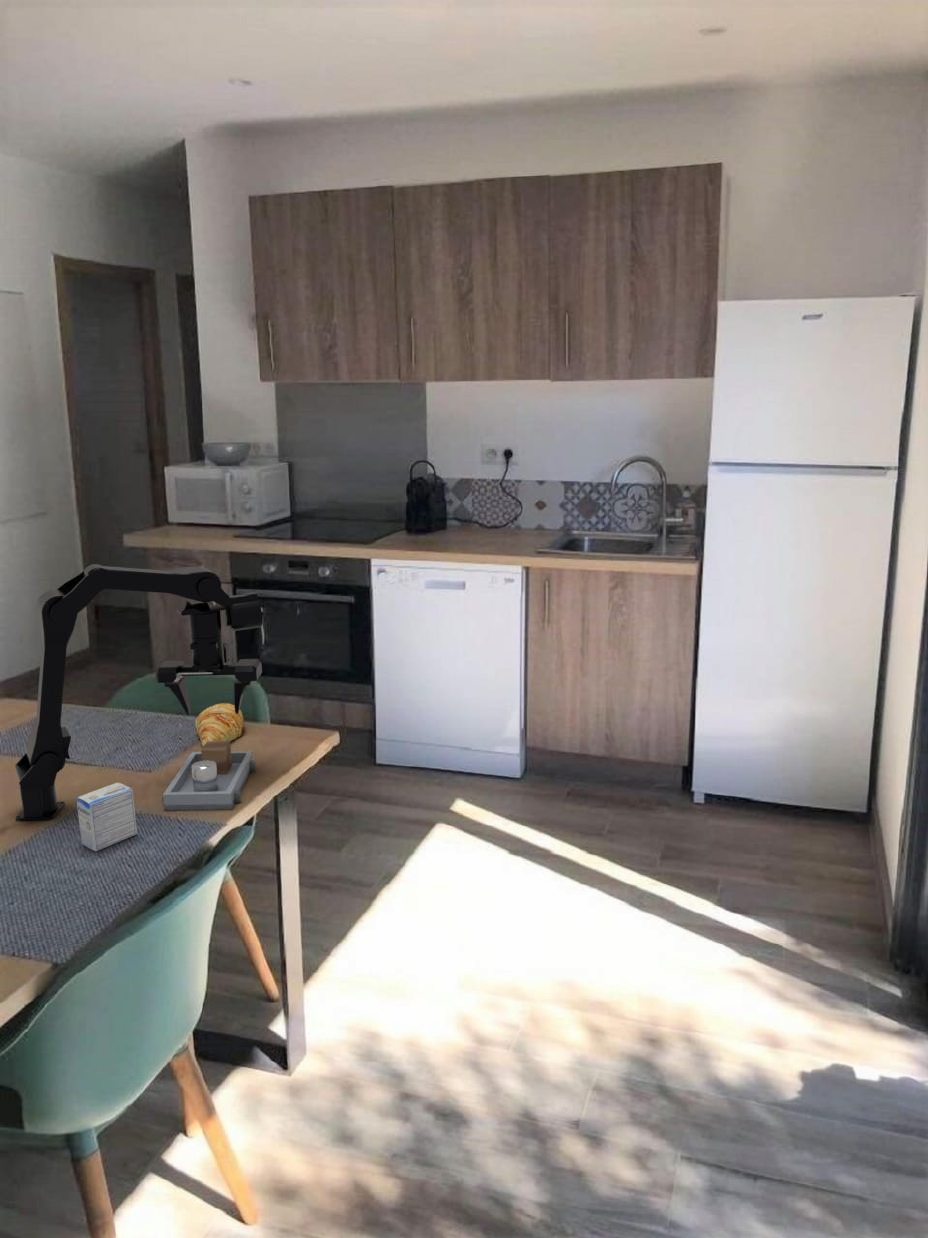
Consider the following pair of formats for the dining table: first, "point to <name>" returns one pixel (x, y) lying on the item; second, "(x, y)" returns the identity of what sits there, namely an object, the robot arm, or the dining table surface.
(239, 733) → the croissant
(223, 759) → the walnut block
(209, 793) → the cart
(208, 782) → the cylinder
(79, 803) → the medicine box
